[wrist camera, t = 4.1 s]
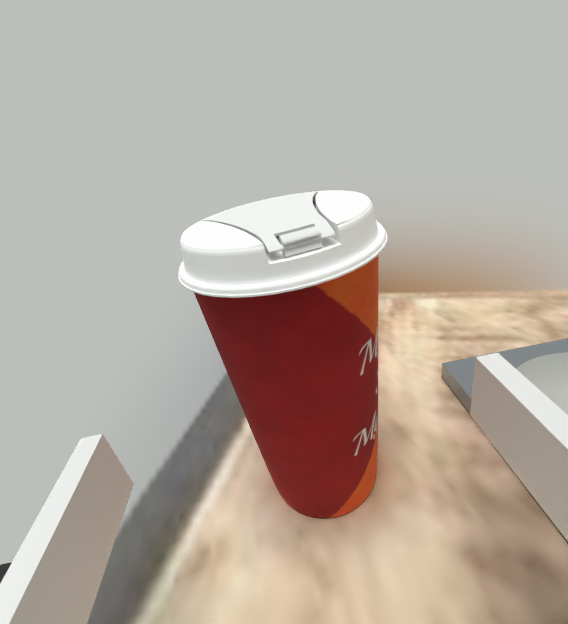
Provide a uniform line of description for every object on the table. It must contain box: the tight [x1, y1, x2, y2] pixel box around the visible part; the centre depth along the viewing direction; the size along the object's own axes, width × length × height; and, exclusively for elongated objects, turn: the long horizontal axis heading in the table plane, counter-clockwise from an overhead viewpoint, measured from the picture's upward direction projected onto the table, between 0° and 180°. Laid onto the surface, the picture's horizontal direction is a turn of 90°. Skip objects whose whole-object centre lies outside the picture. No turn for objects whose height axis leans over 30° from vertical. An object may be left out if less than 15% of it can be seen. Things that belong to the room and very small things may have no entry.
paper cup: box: [178, 190, 387, 518], centre depth 16 cm, size 8×8×14 cm
